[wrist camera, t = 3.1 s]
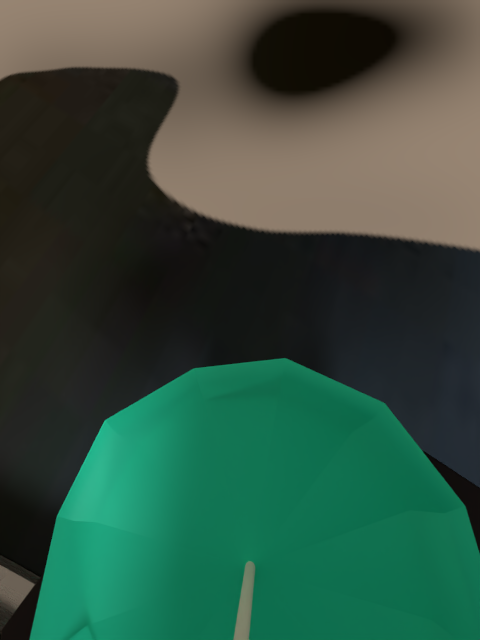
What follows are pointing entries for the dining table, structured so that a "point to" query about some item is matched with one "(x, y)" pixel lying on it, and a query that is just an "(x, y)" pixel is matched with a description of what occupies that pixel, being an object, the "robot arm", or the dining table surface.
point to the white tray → (13, 587)
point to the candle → (259, 520)
